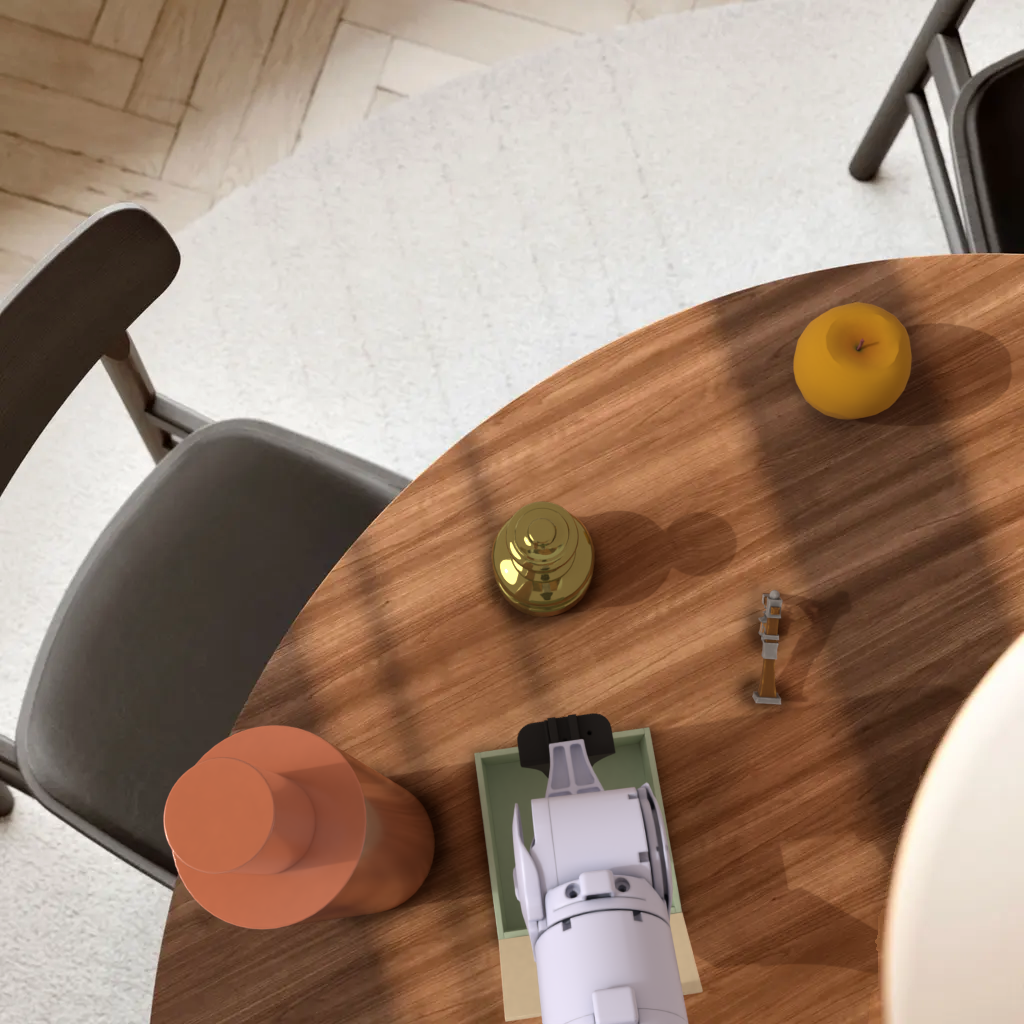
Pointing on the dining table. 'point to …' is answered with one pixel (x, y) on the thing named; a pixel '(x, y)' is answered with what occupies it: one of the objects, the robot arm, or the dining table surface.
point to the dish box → (520, 785)
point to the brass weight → (543, 559)
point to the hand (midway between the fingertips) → (584, 880)
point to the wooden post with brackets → (769, 648)
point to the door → (524, 979)
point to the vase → (294, 832)
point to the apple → (853, 361)
